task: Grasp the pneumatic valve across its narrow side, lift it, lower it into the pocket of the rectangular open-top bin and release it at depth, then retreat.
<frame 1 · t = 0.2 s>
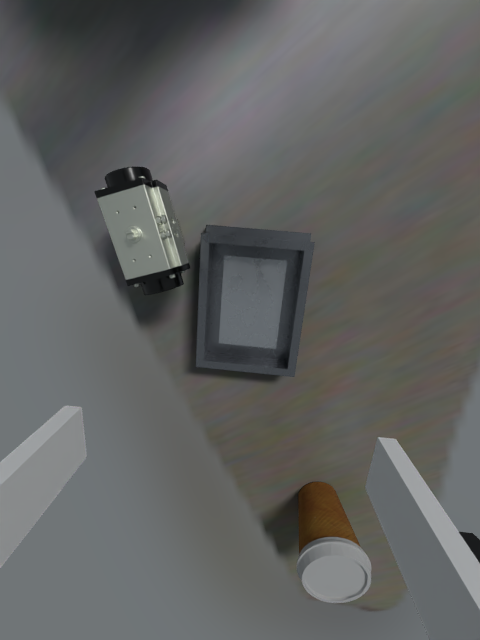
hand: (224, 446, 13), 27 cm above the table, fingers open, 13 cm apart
rectangular open-top bin: (251, 302, 39), on the table
pneumatic valve: (173, 234, 37), on the table
disposable coffee cup: (317, 495, 47), on the table
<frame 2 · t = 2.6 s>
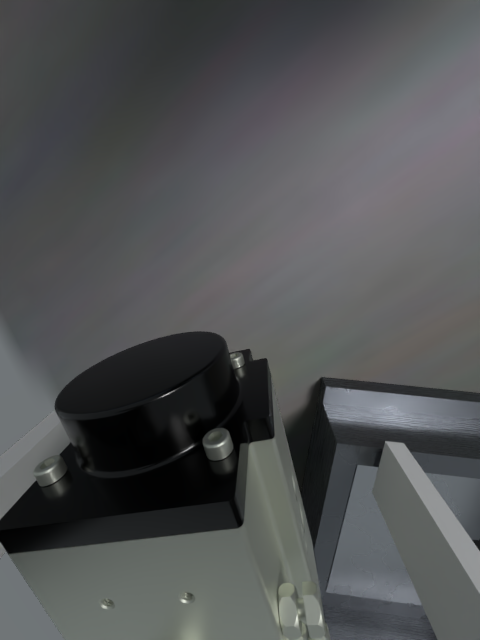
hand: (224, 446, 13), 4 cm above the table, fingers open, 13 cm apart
rectangular open-top bin: (400, 518, 18), on the table
pneumatic valve: (239, 390, 17), on the table
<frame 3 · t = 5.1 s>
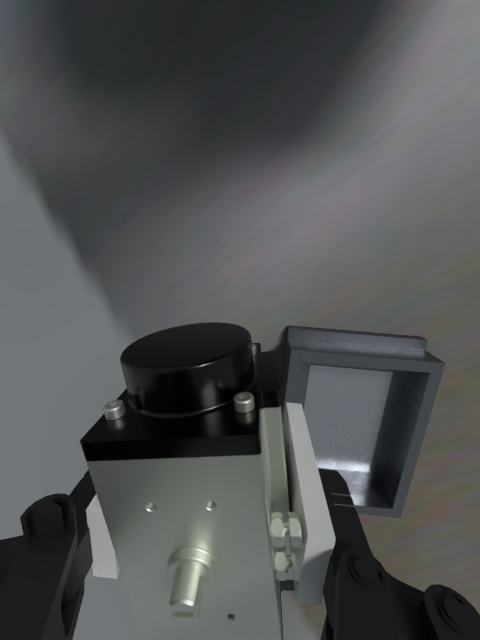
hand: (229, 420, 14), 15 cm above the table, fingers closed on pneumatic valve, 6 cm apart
rectangular open-top bin: (338, 415, 30), on the table
pneumatic valve: (237, 380, 19), point 10 cm above the table, touching gripper
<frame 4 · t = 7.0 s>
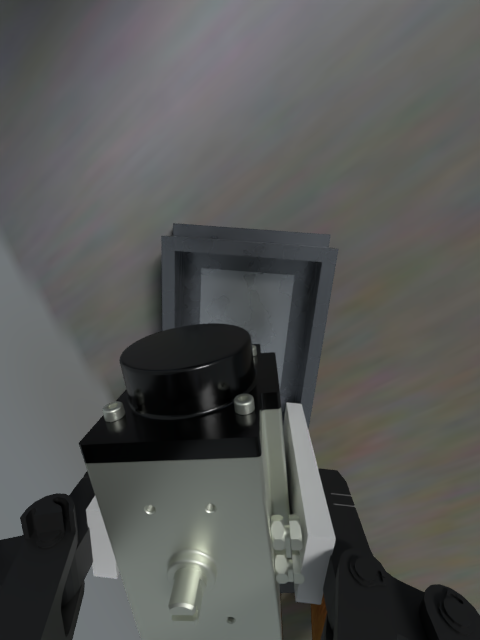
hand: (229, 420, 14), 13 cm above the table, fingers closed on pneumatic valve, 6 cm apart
rectangular open-top bin: (243, 333, 27), on the table
pneumatic valve: (237, 381, 19), point 9 cm above the table, touching gripper
disposable coffee cup: (334, 579, 36), on the table
when the fingers open (4 cm above the table, at t = 9.2 s): pneumatic valve stays where it is, resting on rectangular open-top bin.
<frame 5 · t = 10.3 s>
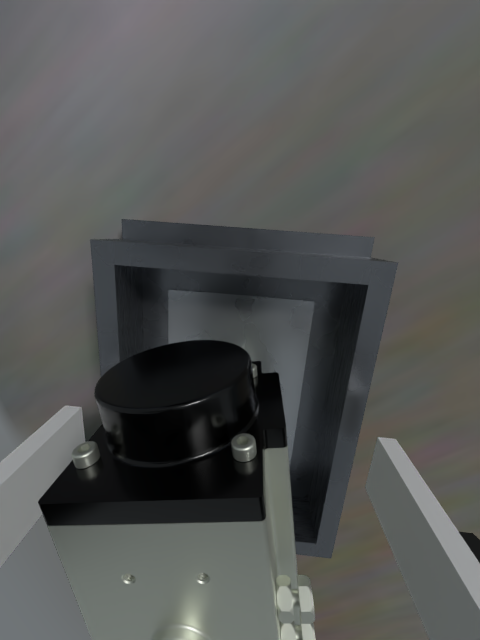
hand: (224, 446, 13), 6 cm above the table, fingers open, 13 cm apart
rectangular open-top bin: (235, 383, 18), on the table
pneumatic valve: (235, 395, 17), point 1 cm above the table, touching rectangular open-top bin
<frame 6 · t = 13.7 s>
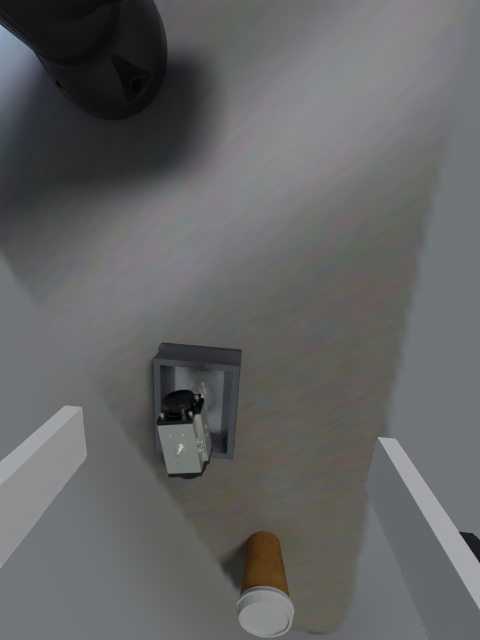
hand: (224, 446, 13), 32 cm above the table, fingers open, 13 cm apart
rectangular open-top bin: (200, 397, 48), on the table
pneumatic valve: (199, 402, 48), point 1 cm above the table, touching rectangular open-top bin
disposable coffee cup: (264, 542, 57), on the table
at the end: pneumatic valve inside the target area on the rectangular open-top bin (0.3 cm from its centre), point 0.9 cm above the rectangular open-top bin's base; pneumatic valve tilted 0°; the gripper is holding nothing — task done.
